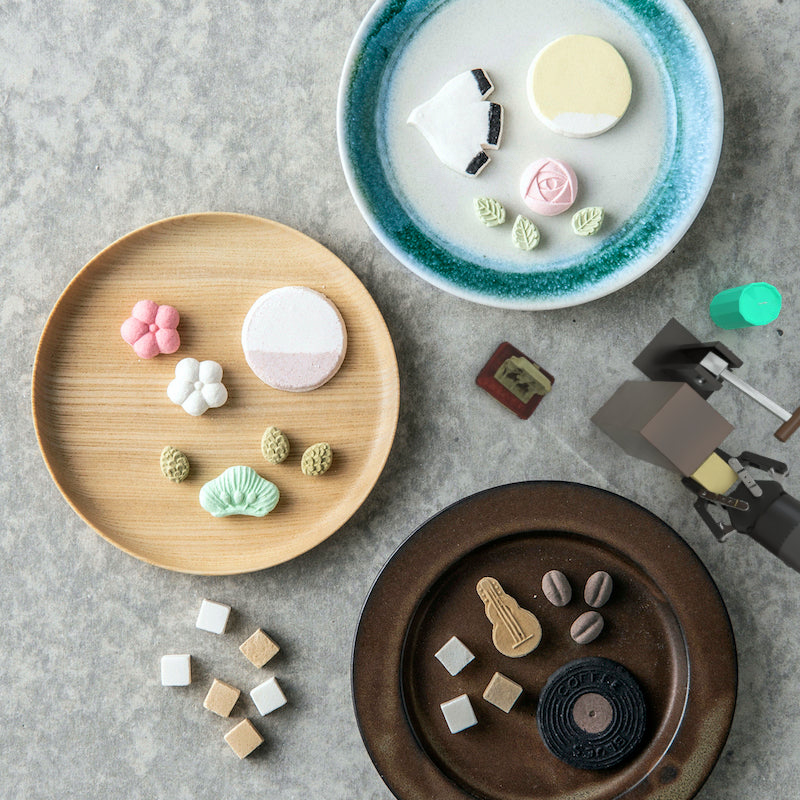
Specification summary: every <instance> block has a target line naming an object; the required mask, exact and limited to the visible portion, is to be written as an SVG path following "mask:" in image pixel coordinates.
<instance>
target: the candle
mask: <svg viewBox="0 0 800 800" xmlns="http://www.w3.org/2000/svg"><path fill="white" fill-rule="evenodd" d="M782 299H783V296H782V294H781V293H780V292H779V290H778V288H777V287H776V286H774V285H772V284H770V283H769V282H765V281H760V282H758V281H757V282H751V283H747V284H743V285H740V286H735V287H731V288H728V289H724V290H721V291H720V292H719V293H717V294H716V295H714V296H713V298H712V300H711V302H710V303H709V317H710V319H711V320H712V322H713V323H714V324H715V326H717V327H718V328H720V329H723V330H725V331H727V330H737V329H745V328H746V329H747V328H753V327H760V326H767V325H768V324H770V323H772V322H773V321H775V320H776V319H778V316H779V315H780V312H781V309H782V301H783V300H782Z"/></svg>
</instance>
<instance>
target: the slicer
mask: <svg viewBox="0 0 800 800" xmlns="http://www.w3.org/2000/svg"><path fill="white" fill-rule="evenodd" d="M710 351H711V352H712V353H714V354H715V355H717V356H718V357H720V358H721V359H722V360H724V361H725V362H727V363H728V366H727V370H728V371H730V372H731V373H732V372H734V370H733V369H740V368H741V367H742V366H743V365H744V364H745V362H744V361H742V359H740V358H739V357H738V355H736V354H735V353H734V351H733V350H732V349H731V348H730V347H729V346H726V344H724V343H723V342H722V341H721V340H715V341H714V340H713V341H704V342H702V341H700V339H698V338H697V337H696V336H695V335H694V334H692V332H691V331H689V330H688V329H687V328H686V327H684V325H682V323H680V321H678V320H677V319H676V318H675V317H671V318H670V319H669V321H668V322H667V323H666V324H665V325H664V326H663V327H662V329H660V331H659V332H658V333H657V334H656V335H655V336H654V337H653V338H652V339H651V341H650V342H649V343H648V344H647V345H646V346H645V347H644V349H643V350H642V351H641V352H640V353H639V354H638V355H637V356H636V357H635V359H634V360H632V362H631V364H633V365H634V366H635V367H636V368H637V369H638V370H640V372H642V374H644V375H645V376H646V377H647V378H648V379H649V380H650V381H662V382H686V383H687V384H688V385H689V386H690V387H691V388H692V389H693V390H695V391H696V392H697V393H698V394H699V395H700V396H701V397H702V398H703V399H704V400H705V401H706V402H707V400H708V399H709V398H711V396H712V395H713V393H714V392H719V391H720V390H722V388H723V387H724V384H723V383H724V382H725V380H724V379H722V378H721V377H719V378H718V379H716V378H714V377H713V376H712V375H711V374H710V373H709V372H708V371H707V370H705V369H704V368H703V367H702V366H701V365H700V362H701V361H702V360H703V359H704V358H705V357H706V356H707V354H708V353H709V352H710Z"/></svg>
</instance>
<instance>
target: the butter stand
mask: <svg viewBox="0 0 800 800" xmlns="http://www.w3.org/2000/svg"><path fill="white" fill-rule="evenodd" d="M590 421H591V422H592V423H593V424H594V425H595V426H597V428H599V429H600V430H601V432H603V433H604V434H605V435H606V436H607V437H608V438H609V439H610V440H612V441H613V442H614V444H616V445H617V446H618V447H619V448H621V450H622V451H624V453H625V454H627V455H628V456H630V457H632V458H635V459H638V460H640V461H642V462H643V461H644V462H646V463H648V464H651V465H654V466H656V467H659V468H662V469H664V470H666V471H669V472H672V473H674V474H678V475H679V474H680V475H683V476H685V477H689V476H690V475H691V474H692V473H693V472H694V471H695V470H696V469H697V468H698V467H699V466H700V465H701V464H702V463H703V462H704V461H705V460H706V458H707V457H708V456H709V455H710V454H711V453H712V452H713V451H714V450H715V449H716V448H717V447H718V448H719V446H720V445H721V444H722V443H723V441H725V439H727V438H728V436H729V435H731V433H732V432H733V431H734V430H735V429H736V428H735V426H734V425H732V424H731V422H729V420H727V419H726V418H725V417H724V416H723V415H722V414H721V413H719V411H717V409H715V408H714V407H713V406H712V405H711V404H710V403H709V402H708V401H707V400H706V401H705V400H704V399H703V398H702V397H701V396H700V395H699V394H698V393H697V392H696V391H695V390H693V389H692V388H691V387H690V386H689V385H688V384H687V383H686V382H662V381H652V380H631V379H626V380H624V382H623V383H622V384H621V385H620V386H619V387H618V388H617V389H616V391H615V392H614V393H613V394H612V395H611V396H610V397H609V398H608V399H607V400H606V401H605V402H604V404H602V405H601V407H600V408H599V409H598V410H597V411H596V412H595V413H594V414H593V415H592V416H591V417H590ZM680 475H679V476H680Z"/></svg>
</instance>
